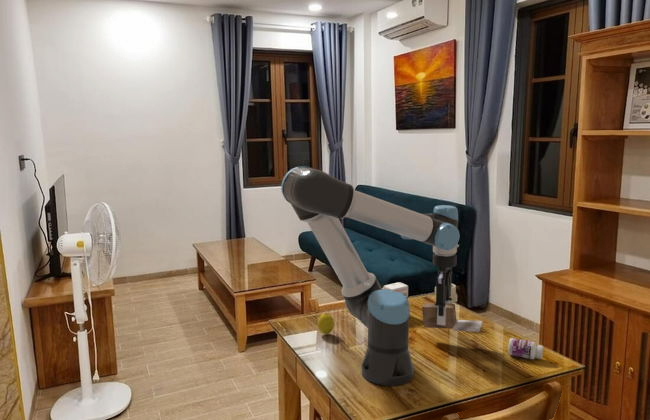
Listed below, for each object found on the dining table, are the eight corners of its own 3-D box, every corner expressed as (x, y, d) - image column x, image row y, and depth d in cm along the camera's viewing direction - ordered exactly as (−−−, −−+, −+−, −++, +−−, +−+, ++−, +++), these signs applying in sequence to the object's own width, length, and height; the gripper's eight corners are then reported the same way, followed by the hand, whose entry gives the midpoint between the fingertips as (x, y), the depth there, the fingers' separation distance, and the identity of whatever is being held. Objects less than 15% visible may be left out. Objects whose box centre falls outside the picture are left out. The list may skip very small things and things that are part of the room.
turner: (422, 328, 164) (420, 308, 163) (428, 321, 170) (426, 301, 170) (479, 331, 156) (477, 310, 155) (482, 323, 162) (480, 303, 161)
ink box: (391, 319, 185) (391, 289, 183) (382, 315, 189) (382, 285, 188) (408, 314, 190) (408, 285, 188) (399, 310, 194) (399, 281, 192)
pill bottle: (509, 334, 155) (543, 340, 151) (511, 341, 159) (543, 347, 155) (507, 351, 153) (541, 357, 148) (508, 357, 157) (541, 363, 152)
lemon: (334, 331, 174) (334, 310, 173) (333, 338, 169) (333, 316, 167) (318, 331, 175) (318, 309, 173) (316, 337, 169) (316, 315, 168)
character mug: (427, 316, 188) (428, 283, 186) (441, 312, 192) (442, 280, 190) (448, 325, 179) (450, 291, 177) (462, 321, 183) (464, 287, 181)
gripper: (451, 260, 151) (448, 333, 155) (461, 248, 166) (459, 314, 170) (426, 258, 155) (425, 329, 158) (439, 246, 170) (437, 311, 174)
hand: (442, 321), depth 164 cm, fingers closed on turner, 4 cm apart
